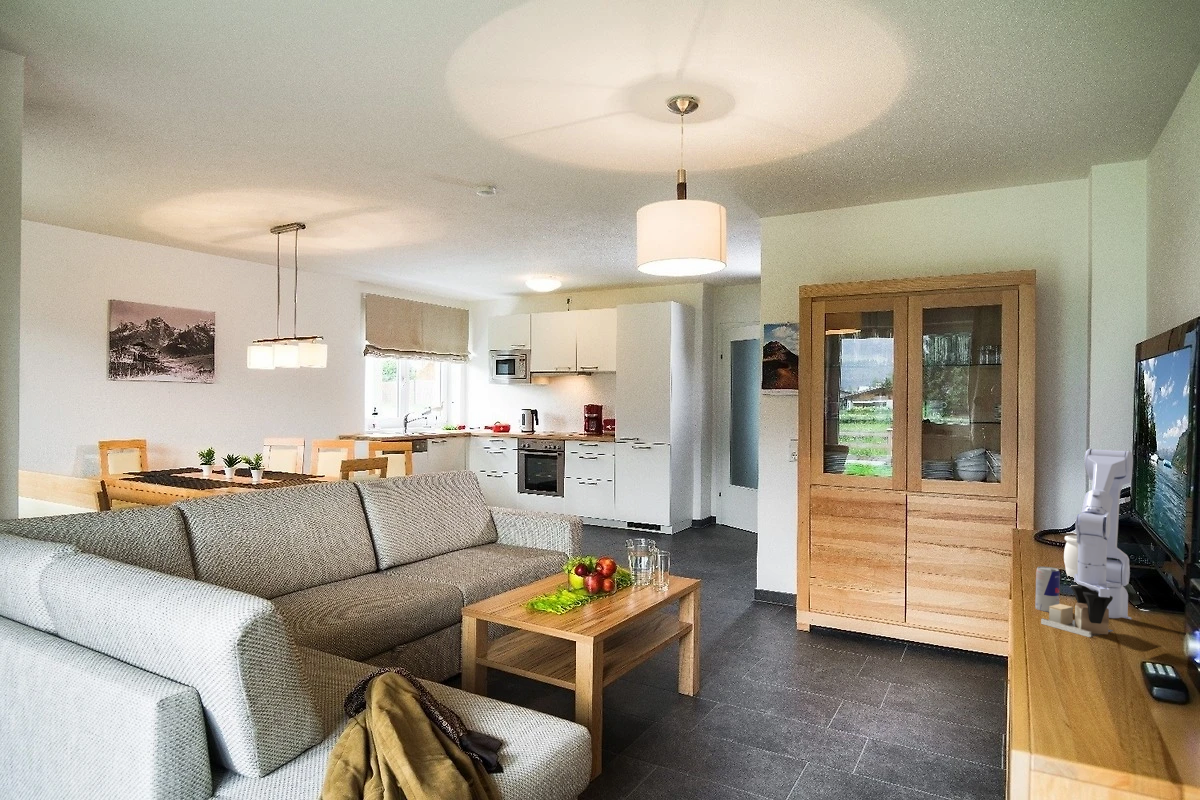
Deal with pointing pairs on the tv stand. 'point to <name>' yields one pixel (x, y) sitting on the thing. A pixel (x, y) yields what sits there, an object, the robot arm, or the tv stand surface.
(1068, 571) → the jar
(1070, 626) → the shelf board
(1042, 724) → the tv stand surface
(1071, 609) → the beige rectangular block
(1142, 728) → the tv stand surface
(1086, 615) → the brown thick square block
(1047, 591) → the energy drink
